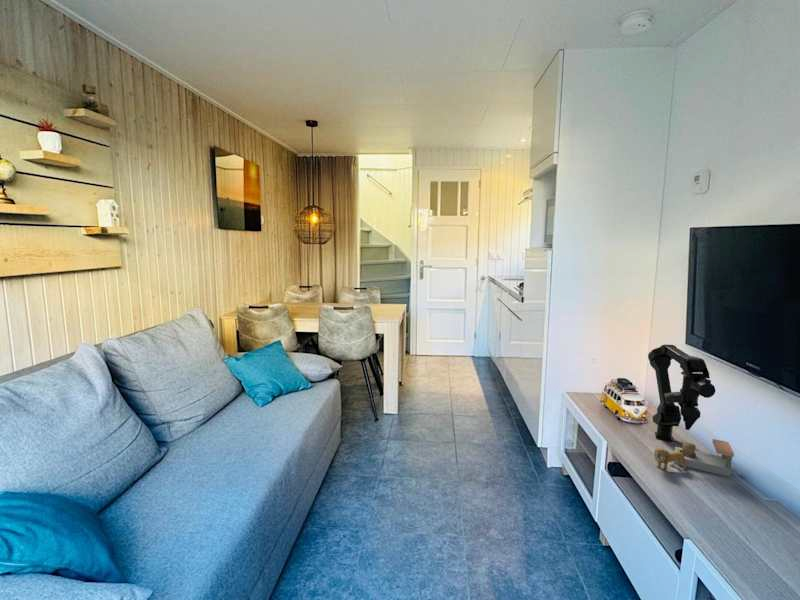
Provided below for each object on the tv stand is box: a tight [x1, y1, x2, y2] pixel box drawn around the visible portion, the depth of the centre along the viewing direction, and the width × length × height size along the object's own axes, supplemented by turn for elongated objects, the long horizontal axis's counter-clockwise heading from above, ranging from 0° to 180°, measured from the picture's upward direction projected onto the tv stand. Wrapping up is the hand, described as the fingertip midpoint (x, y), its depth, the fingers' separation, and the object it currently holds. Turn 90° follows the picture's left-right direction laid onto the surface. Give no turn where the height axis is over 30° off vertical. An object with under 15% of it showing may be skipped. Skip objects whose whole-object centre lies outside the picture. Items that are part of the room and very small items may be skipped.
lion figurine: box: [653, 447, 687, 472], centre depth 162 cm, size 15×5×9 cm, turn 107°
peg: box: [681, 441, 696, 458], centre depth 168 cm, size 4×4×7 cm
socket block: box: [674, 446, 732, 478], centre depth 166 cm, size 10×17×3 cm, turn 61°
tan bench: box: [712, 438, 735, 469], centre depth 163 cm, size 11×5×9 cm, turn 151°
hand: (685, 425), depth 173 cm, fingers open, 9 cm apart
